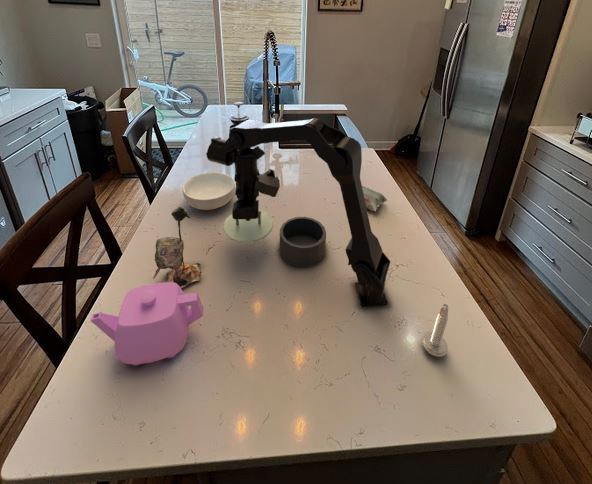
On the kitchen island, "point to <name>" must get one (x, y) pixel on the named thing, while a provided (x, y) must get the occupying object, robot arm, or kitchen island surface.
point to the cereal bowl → (209, 190)
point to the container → (302, 241)
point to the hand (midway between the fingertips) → (248, 219)
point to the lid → (248, 228)
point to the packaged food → (372, 198)
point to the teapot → (151, 322)
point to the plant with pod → (175, 256)
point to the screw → (437, 335)
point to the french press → (238, 117)
